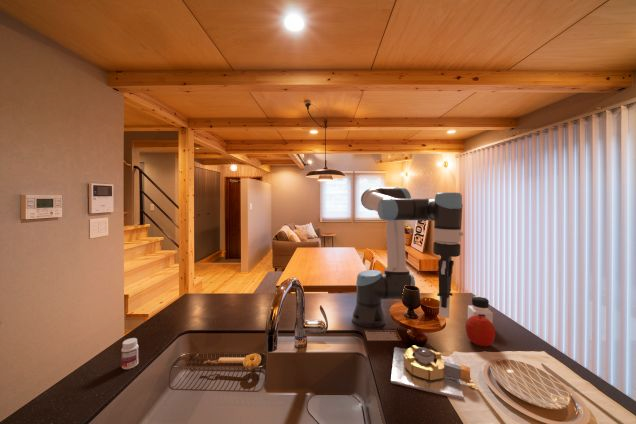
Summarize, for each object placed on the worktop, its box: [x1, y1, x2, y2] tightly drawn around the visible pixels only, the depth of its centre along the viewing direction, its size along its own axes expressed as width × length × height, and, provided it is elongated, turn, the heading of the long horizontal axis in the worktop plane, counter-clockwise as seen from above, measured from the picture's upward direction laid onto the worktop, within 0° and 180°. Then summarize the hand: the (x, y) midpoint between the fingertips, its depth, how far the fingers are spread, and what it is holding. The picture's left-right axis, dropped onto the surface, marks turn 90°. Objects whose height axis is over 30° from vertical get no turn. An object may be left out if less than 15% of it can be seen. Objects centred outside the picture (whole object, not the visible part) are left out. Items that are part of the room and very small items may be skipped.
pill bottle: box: [120, 337, 140, 370], centre depth 87 cm, size 5×5×8 cm
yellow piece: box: [403, 344, 471, 384], centre depth 83 cm, size 19×12×4 cm, turn 58°
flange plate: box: [390, 346, 465, 401], centre depth 85 cm, size 20×20×7 cm
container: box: [467, 295, 494, 325], centre depth 118 cm, size 8×8×13 cm
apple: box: [464, 315, 496, 347], centre depth 102 cm, size 10×10×12 cm
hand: (444, 316), depth 81 cm, fingers closed
